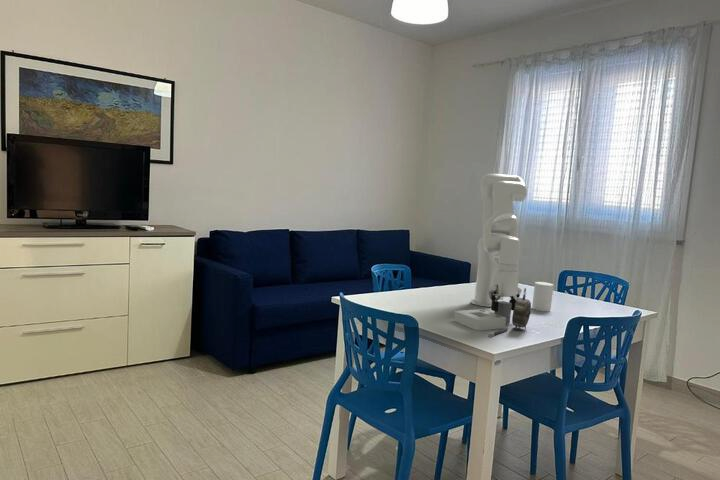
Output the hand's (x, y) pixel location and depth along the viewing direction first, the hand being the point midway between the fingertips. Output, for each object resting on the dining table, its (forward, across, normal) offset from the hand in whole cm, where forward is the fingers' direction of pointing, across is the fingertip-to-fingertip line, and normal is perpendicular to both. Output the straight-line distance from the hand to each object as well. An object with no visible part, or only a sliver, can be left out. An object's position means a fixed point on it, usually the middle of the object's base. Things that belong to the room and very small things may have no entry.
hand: (503, 310), depth 210 cm
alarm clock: (+5, 0, +10) cm, 12 cm away
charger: (+5, 0, -1) cm, 5 cm away
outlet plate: (+5, +13, 0) cm, 14 cm away
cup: (+4, -38, -14) cm, 41 cm away
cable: (+5, +14, +12) cm, 19 cm away
